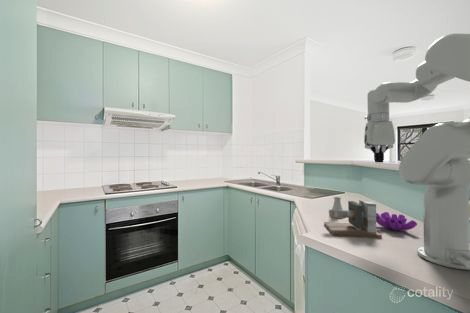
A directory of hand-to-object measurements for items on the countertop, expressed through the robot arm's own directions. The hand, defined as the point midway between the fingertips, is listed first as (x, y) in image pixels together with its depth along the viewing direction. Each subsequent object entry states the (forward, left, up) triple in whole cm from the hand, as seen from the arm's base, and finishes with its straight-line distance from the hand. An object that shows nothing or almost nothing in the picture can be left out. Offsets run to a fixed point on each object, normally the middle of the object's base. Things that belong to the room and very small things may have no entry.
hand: (379, 162), depth 89 cm
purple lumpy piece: (+3, -6, -29) cm, 29 cm away
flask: (+19, +11, -29) cm, 36 cm away
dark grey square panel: (-3, +11, -26) cm, 28 cm away
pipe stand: (-3, +13, -28) cm, 31 cm away
